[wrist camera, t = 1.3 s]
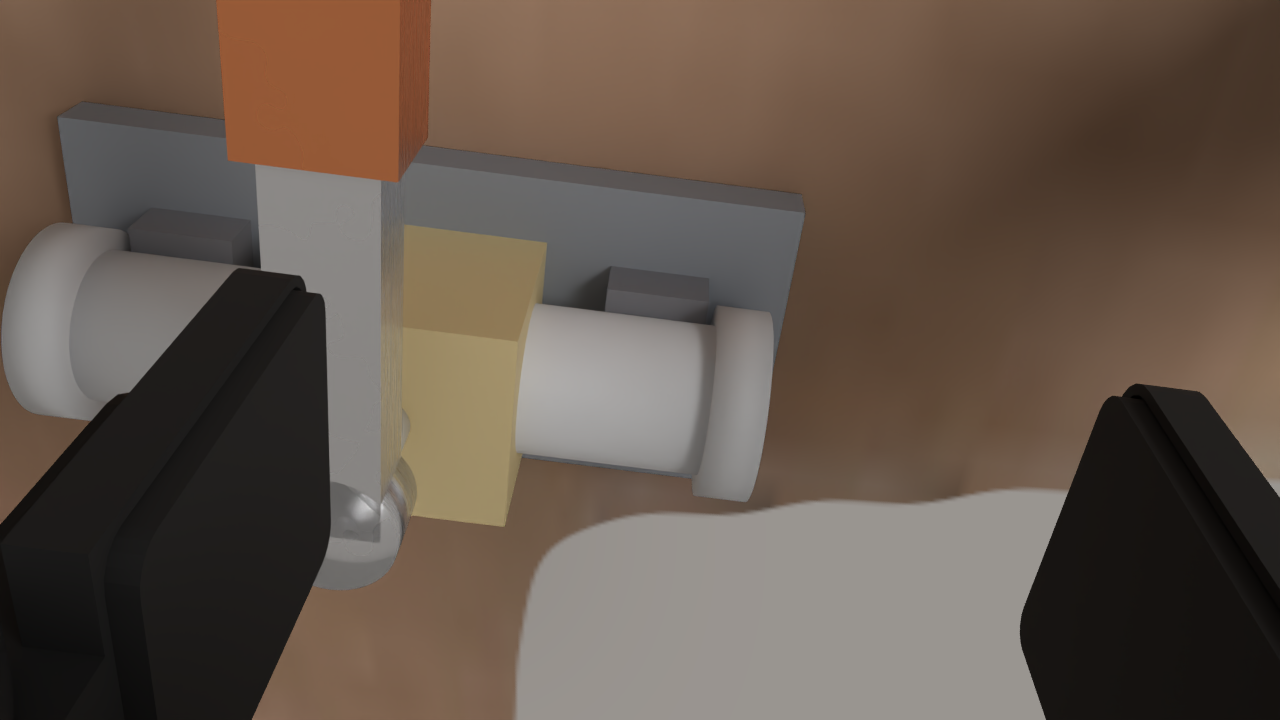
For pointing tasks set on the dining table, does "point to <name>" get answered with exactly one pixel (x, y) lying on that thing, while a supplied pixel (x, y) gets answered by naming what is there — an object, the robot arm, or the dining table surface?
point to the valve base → (471, 201)
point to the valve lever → (339, 223)
